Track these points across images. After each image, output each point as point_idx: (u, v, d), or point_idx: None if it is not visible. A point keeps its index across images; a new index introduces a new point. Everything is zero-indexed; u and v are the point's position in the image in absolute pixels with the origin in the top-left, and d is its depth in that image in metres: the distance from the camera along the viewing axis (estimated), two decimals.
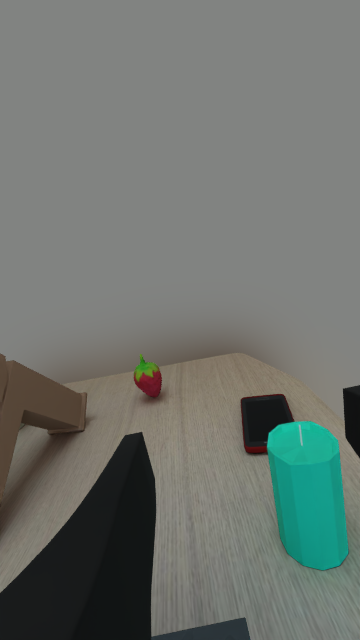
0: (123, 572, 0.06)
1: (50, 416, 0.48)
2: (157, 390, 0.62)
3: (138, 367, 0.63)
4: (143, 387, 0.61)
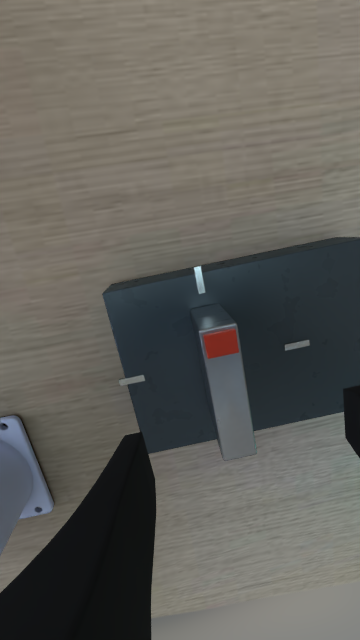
0: (123, 572, 0.06)
1: None
2: None
3: None
4: None
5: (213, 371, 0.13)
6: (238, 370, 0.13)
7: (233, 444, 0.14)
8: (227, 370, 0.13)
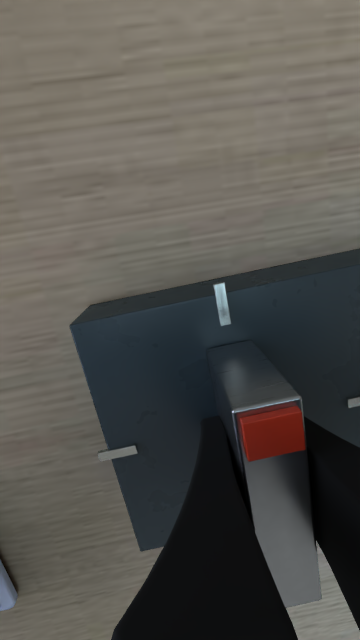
0: None
1: None
2: None
3: None
4: None
5: (256, 478, 0.07)
6: (300, 475, 0.07)
7: (284, 587, 0.08)
8: (280, 476, 0.07)
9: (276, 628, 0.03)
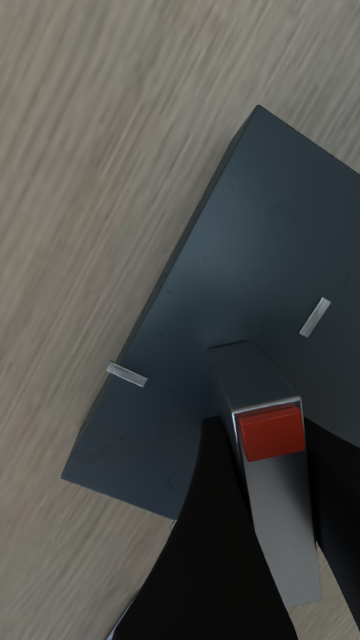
0: None
1: None
2: None
3: None
4: None
5: (256, 478, 0.07)
6: (299, 476, 0.07)
7: (284, 587, 0.08)
8: (279, 476, 0.07)
9: (276, 628, 0.03)
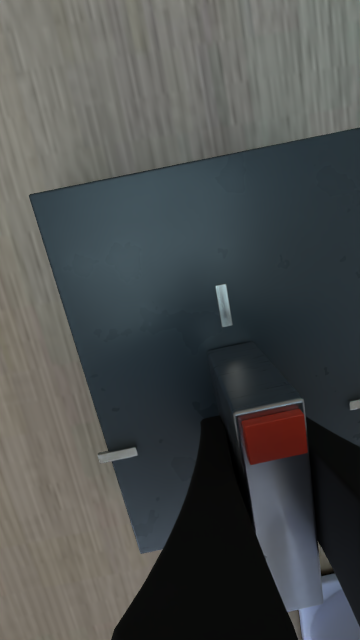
0: None
1: None
2: None
3: None
4: None
5: (257, 481, 0.07)
6: (302, 478, 0.07)
7: (286, 591, 0.08)
8: (281, 479, 0.07)
9: (276, 628, 0.03)
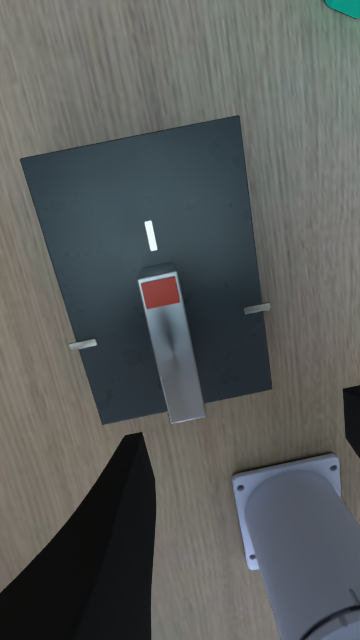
0: (123, 572, 0.06)
1: None
2: None
3: None
4: None
5: (154, 324, 0.12)
6: (181, 323, 0.12)
7: (180, 405, 0.13)
8: (169, 323, 0.12)
9: None
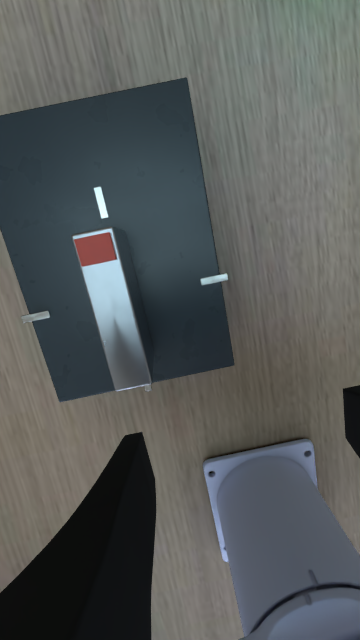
0: (123, 572, 0.06)
1: None
2: None
3: None
4: None
5: (92, 283, 0.11)
6: (120, 283, 0.11)
7: (124, 371, 0.12)
8: (107, 283, 0.11)
9: None
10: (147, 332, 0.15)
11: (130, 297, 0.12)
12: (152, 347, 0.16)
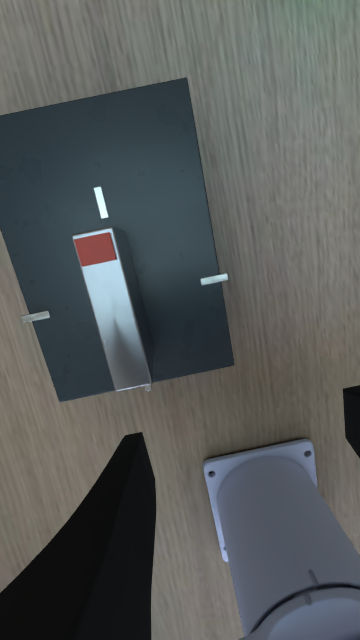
0: (123, 572, 0.06)
1: None
2: None
3: None
4: None
5: (92, 283, 0.11)
6: (120, 283, 0.11)
7: (124, 371, 0.12)
8: (107, 283, 0.11)
9: None
10: (147, 332, 0.15)
11: (130, 297, 0.12)
12: (152, 347, 0.16)
